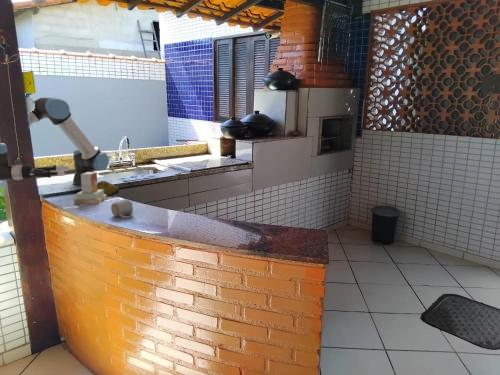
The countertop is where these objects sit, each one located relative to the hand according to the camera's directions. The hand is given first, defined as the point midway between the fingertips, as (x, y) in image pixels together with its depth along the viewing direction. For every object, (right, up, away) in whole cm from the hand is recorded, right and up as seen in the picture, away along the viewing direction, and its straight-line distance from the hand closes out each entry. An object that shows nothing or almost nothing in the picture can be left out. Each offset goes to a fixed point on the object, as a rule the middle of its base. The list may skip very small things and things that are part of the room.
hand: (66, 170), depth 200 cm
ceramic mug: (+39, -24, -20) cm, 49 cm away
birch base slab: (+11, -17, +6) cm, 22 cm away
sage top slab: (+11, -15, +5) cm, 19 cm away
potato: (+15, -14, +20) cm, 28 cm away
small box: (+11, -12, +5) cm, 17 cm away
